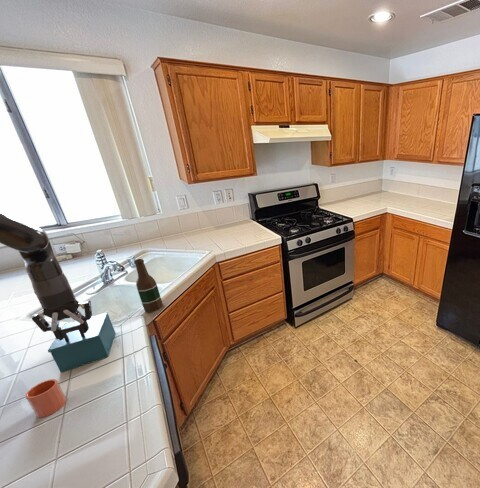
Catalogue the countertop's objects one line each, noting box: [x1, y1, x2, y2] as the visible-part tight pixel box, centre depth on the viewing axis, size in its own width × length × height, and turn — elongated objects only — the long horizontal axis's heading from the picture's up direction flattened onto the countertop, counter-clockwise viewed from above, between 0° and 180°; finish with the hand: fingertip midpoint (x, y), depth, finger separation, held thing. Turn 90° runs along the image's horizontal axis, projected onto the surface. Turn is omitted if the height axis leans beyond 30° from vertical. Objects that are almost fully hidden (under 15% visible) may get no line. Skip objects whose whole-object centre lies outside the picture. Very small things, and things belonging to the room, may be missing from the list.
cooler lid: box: [47, 312, 109, 353], centre depth 91 cm, size 16×13×5 cm
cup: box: [25, 378, 67, 418], centre depth 72 cm, size 6×6×7 cm
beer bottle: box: [133, 258, 163, 313], centre depth 117 cm, size 8×8×24 cm
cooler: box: [50, 314, 116, 373], centre depth 94 cm, size 16×13×9 cm
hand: (74, 335), depth 86 cm, fingers open, 5 cm apart
